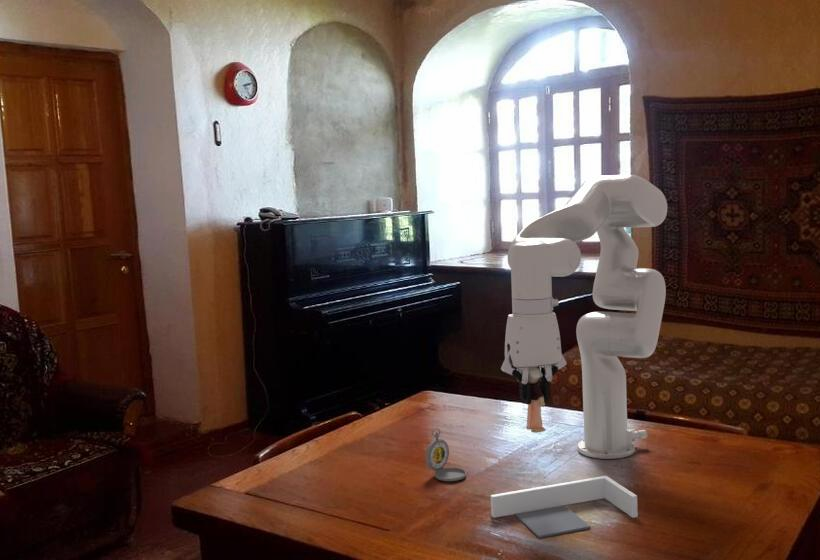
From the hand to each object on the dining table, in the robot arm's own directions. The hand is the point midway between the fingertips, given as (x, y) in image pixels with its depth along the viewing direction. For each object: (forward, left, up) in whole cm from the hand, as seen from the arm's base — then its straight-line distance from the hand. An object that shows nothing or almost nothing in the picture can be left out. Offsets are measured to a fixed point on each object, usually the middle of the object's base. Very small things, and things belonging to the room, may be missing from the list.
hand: (535, 400), depth 154 cm
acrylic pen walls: (0, +10, -20) cm, 22 cm away
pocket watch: (+12, -19, -20) cm, 30 cm away
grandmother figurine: (0, 0, -6) cm, 6 cm away
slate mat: (+3, +11, -19) cm, 23 cm away
